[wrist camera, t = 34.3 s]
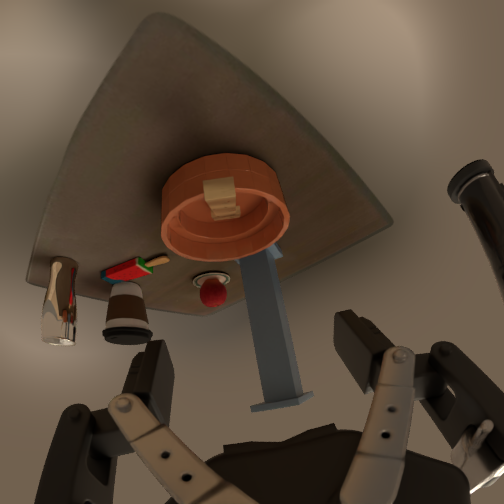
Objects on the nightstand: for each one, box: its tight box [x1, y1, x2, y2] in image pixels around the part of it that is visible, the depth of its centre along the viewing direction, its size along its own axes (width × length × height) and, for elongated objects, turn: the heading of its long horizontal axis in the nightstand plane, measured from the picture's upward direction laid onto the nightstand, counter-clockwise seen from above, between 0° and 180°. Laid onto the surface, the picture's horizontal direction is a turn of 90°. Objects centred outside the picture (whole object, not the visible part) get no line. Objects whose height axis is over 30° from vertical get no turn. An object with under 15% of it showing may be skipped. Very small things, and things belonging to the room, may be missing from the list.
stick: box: [203, 176, 241, 221], centre depth 30 cm, size 18×4×2 cm, turn 2°
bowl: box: [161, 153, 290, 262], centre depth 36 cm, size 16×16×6 cm
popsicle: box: [101, 256, 169, 284], centre depth 50 cm, size 4×2×15 cm
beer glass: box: [41, 257, 78, 346], centre depth 41 cm, size 7×7×15 cm
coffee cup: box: [102, 282, 153, 345], centre depth 55 cm, size 11×11×12 cm
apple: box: [193, 273, 230, 307], centre depth 60 cm, size 8×8×6 cm
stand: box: [235, 242, 314, 412], centre depth 46 cm, size 12×8×28 cm, turn 22°
